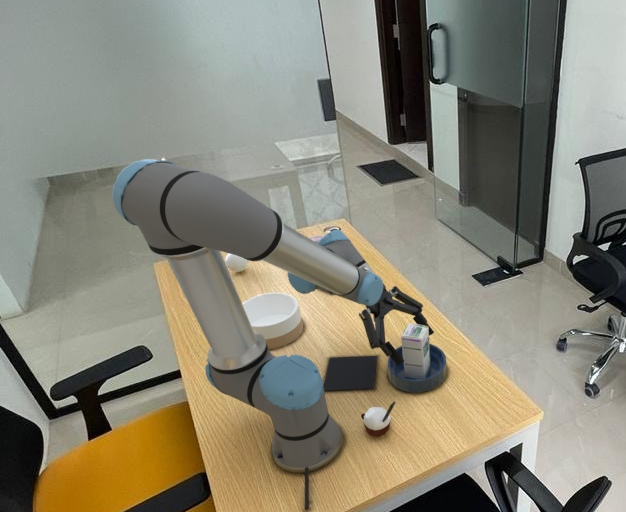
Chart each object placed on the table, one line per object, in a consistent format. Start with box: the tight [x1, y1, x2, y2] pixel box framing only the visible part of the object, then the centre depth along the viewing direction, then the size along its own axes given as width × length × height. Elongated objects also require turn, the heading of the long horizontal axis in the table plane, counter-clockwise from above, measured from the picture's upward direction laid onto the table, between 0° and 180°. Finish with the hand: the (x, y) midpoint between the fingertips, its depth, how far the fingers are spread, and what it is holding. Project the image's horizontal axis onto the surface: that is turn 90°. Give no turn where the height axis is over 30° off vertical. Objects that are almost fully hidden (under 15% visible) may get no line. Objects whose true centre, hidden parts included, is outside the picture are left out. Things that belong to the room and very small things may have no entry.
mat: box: [323, 355, 378, 392], centre depth 134 cm, size 13×13×1 cm
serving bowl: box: [387, 342, 447, 394], centre depth 134 cm, size 16×16×4 cm
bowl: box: [242, 292, 304, 350], centre depth 146 cm, size 17×17×8 cm
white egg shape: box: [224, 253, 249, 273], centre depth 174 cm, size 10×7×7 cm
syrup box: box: [400, 323, 431, 379], centre depth 131 cm, size 6×6×14 cm
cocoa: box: [360, 401, 396, 438], centre depth 115 cm, size 10×6×12 cm, turn 40°
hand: (416, 348), depth 131 cm, fingers open, 13 cm apart
